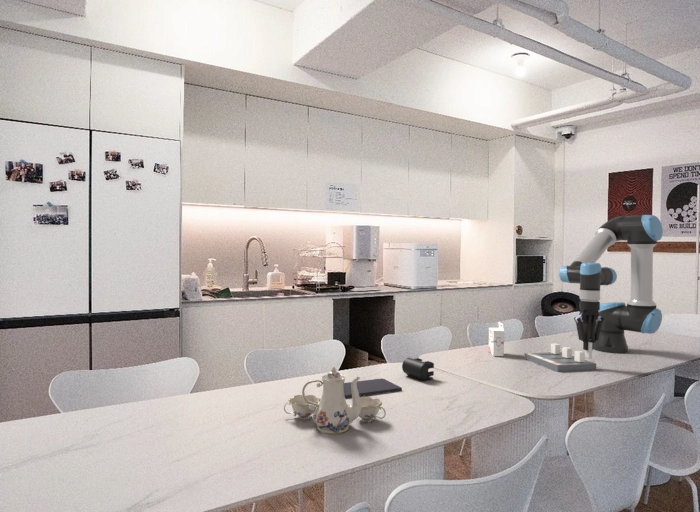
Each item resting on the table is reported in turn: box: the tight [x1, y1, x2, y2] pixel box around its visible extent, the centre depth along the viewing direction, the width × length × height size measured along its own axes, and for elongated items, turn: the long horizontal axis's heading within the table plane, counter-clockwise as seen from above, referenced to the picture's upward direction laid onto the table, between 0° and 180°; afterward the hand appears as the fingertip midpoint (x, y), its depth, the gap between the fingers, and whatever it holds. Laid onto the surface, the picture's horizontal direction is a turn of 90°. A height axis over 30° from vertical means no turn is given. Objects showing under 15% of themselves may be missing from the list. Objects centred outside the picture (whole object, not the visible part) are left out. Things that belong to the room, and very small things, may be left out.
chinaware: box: [283, 366, 387, 435], centre depth 130 cm, size 28×17×17 cm, turn 92°
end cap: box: [401, 357, 435, 382], centre depth 176 cm, size 10×7×7 cm
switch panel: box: [523, 351, 597, 373], centre depth 201 cm, size 18×22×3 cm
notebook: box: [344, 378, 403, 400], centre depth 161 cm, size 13×2×21 cm
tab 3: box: [574, 350, 586, 362], centre depth 195 cm, size 2×3×4 cm
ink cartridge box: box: [488, 321, 505, 357], centre depth 217 cm, size 9×5×15 cm, turn 179°
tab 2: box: [561, 346, 573, 358], centre depth 202 cm, size 2×3×4 cm
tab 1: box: [550, 342, 561, 354], centre depth 209 cm, size 2×3×4 cm
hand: (588, 357), depth 196 cm, fingers closed
